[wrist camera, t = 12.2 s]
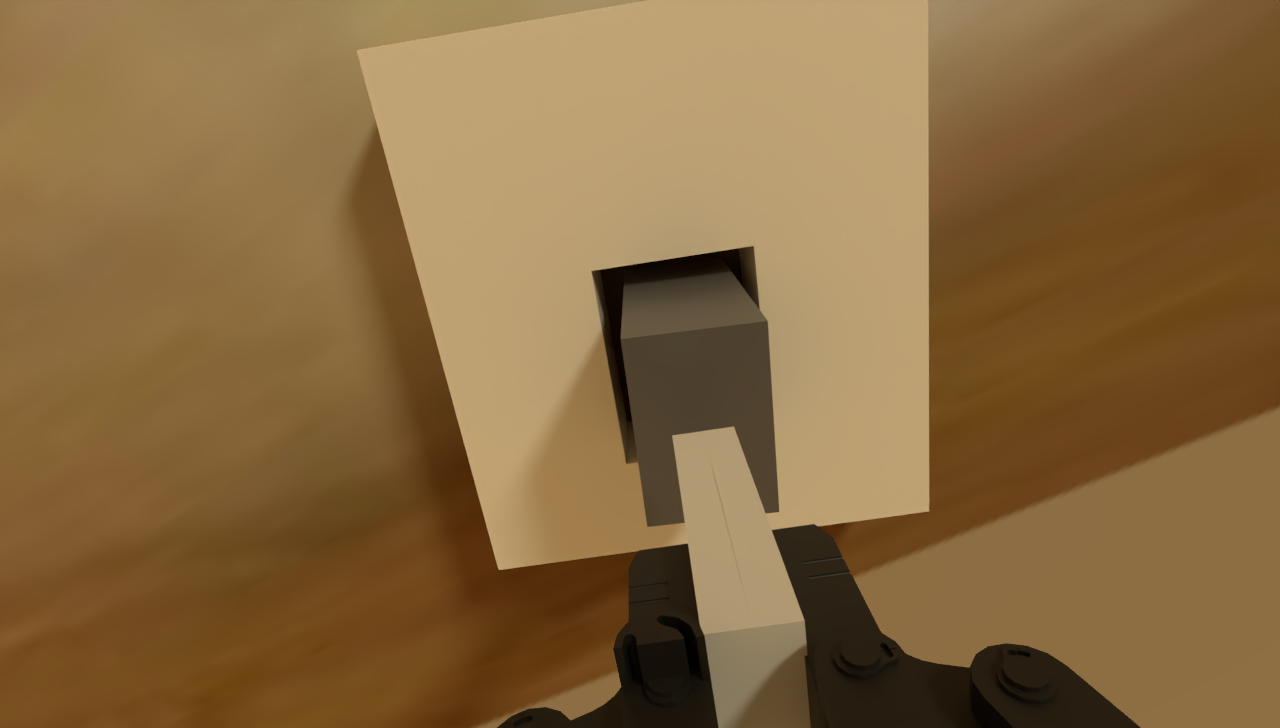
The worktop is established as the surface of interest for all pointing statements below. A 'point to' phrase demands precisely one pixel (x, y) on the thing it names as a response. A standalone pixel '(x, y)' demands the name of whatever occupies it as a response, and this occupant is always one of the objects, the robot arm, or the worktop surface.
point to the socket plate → (669, 242)
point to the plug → (695, 374)
